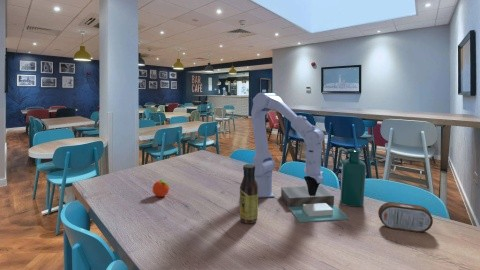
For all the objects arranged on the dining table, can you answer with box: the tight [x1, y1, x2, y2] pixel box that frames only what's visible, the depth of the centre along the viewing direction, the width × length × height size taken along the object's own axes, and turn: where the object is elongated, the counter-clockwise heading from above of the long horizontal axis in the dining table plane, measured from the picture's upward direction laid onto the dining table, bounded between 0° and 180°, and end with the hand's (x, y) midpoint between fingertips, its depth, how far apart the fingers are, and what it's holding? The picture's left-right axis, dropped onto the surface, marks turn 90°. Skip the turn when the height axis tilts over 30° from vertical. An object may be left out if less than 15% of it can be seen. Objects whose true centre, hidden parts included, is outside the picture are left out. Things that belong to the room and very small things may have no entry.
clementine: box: [152, 179, 170, 197], centre depth 116 cm, size 8×7×7 cm
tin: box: [377, 201, 434, 233], centre depth 86 cm, size 15×3×8 cm, turn 70°
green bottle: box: [339, 146, 367, 208], centre depth 107 cm, size 10×8×22 cm
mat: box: [288, 204, 350, 223], centre depth 99 cm, size 18×12×1 cm, turn 96°
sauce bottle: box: [239, 163, 259, 224], centre depth 92 cm, size 7×6×20 cm
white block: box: [303, 203, 333, 216], centre depth 99 cm, size 9×6×2 cm, turn 97°
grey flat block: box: [280, 185, 335, 208], centre depth 110 cm, size 18×12×4 cm, turn 96°
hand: (312, 195), depth 104 cm, fingers closed
